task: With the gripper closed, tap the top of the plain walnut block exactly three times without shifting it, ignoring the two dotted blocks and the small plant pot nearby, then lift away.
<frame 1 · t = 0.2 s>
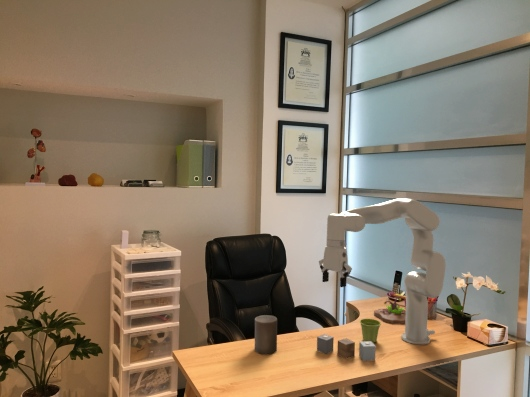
hand: (334, 284, 174), 30 cm above the table, tool pointing down, fingers open, 9 cm apart
pillar candle: (265, 350, 178), on the table
plant: (395, 318, 223), on the table
charcoal block: (325, 350, 178), on the table
walnut block: (345, 355, 174), on the table
plant pot: (369, 341, 190), on the table
slate block: (367, 358, 172), on the table
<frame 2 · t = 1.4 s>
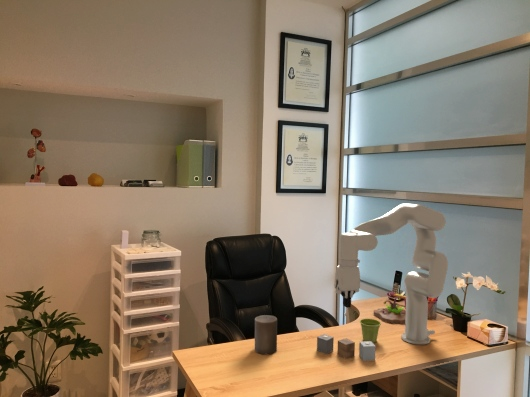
hand: (346, 306, 173), 21 cm above the table, tool pointing down, fingers closed
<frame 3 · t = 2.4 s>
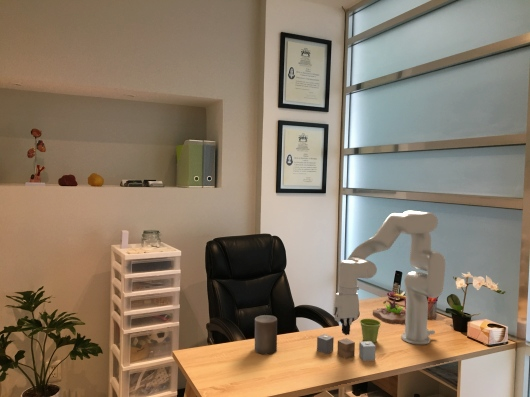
hand: (345, 333, 173), 9 cm above the table, tool pointing down, fingers closed
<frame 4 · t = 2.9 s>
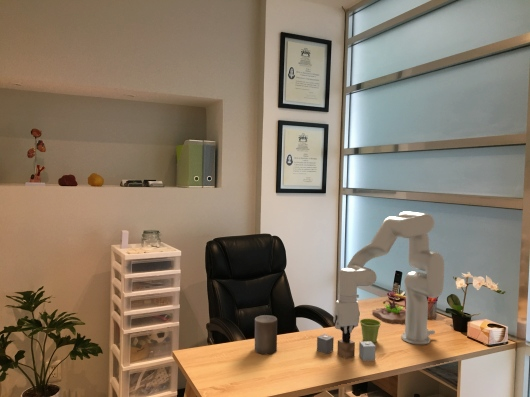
hand: (346, 341, 174), 6 cm above the table, tool pointing down, fingers closed
walnut block: (345, 355, 174), on the table, touching gripper
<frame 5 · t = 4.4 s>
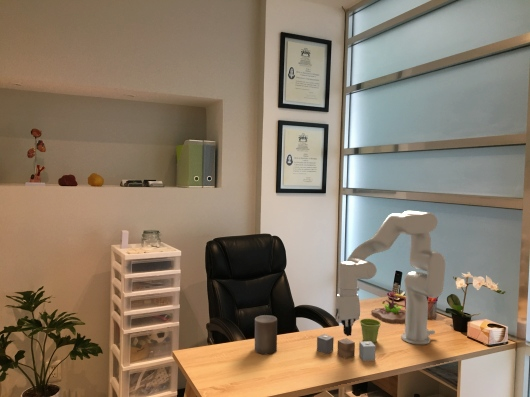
hand: (347, 334, 174), 9 cm above the table, tool pointing down, fingers closed
walnut block: (345, 355, 174), on the table
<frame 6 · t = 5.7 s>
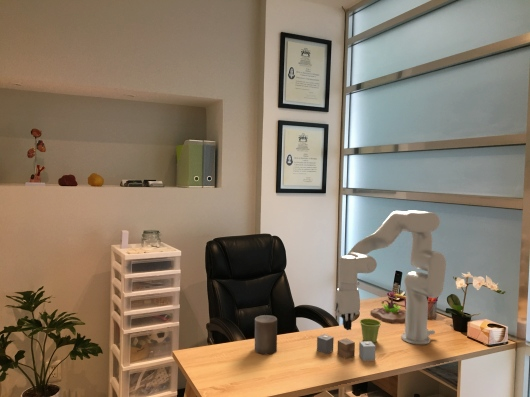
hand: (347, 328, 174), 11 cm above the table, tool pointing down, fingers closed
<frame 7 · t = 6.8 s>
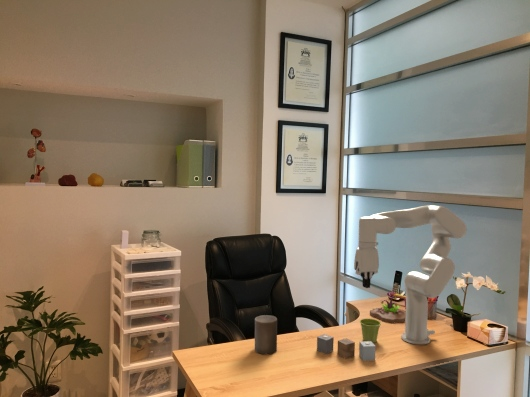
hand: (366, 287, 181), 27 cm above the table, tool pointing down, fingers closed
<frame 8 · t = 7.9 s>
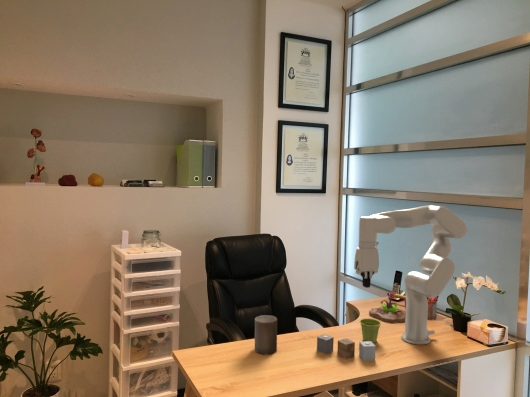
hand: (366, 286, 181), 27 cm above the table, tool pointing down, fingers closed
at the end: walnut block moved 0.1 cm from its start; walnut block tilted 0°; slate block moved 0.1 cm from its start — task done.
